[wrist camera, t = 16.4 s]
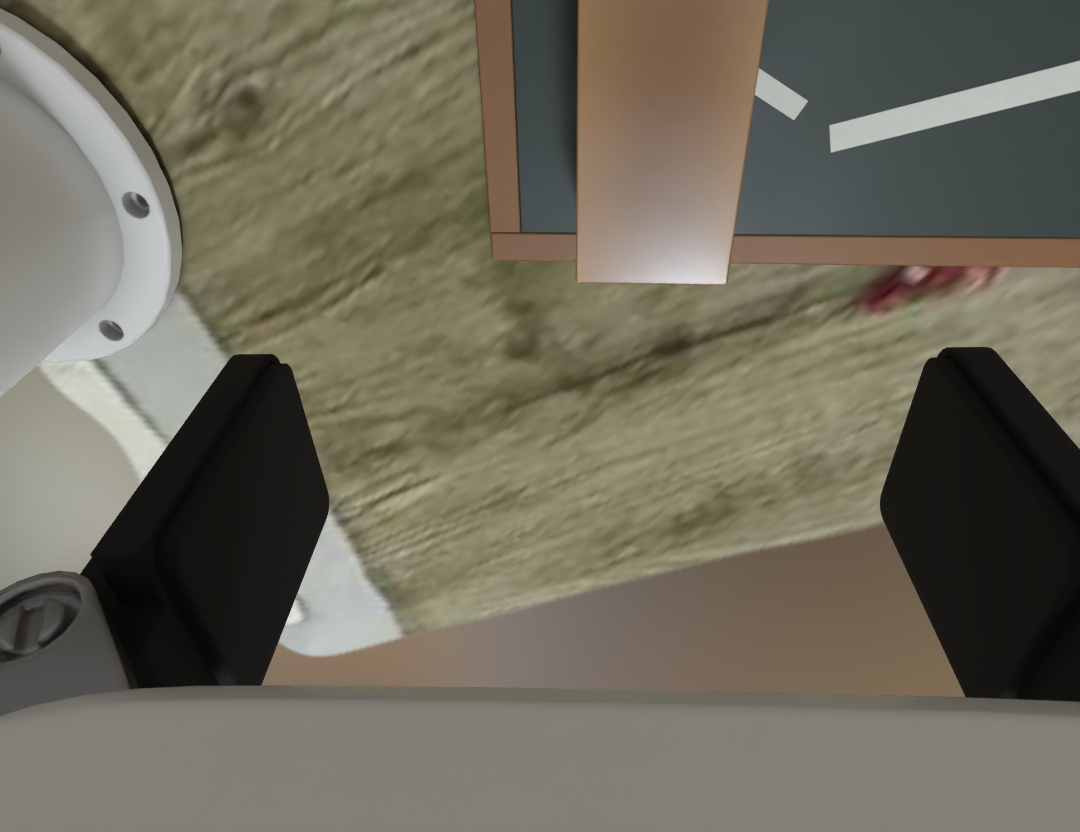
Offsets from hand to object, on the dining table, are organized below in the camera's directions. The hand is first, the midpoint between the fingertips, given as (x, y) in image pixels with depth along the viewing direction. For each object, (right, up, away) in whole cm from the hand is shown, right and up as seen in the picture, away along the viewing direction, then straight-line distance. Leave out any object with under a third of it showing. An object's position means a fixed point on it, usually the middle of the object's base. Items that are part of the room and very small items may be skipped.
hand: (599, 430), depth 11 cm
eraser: (+2, +9, +10) cm, 14 cm away
